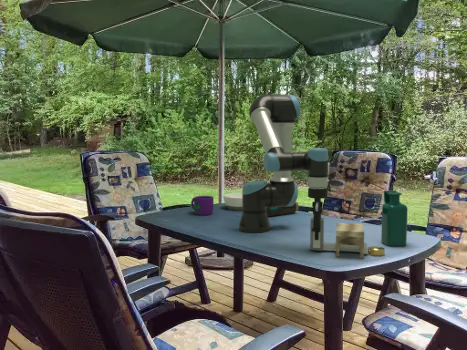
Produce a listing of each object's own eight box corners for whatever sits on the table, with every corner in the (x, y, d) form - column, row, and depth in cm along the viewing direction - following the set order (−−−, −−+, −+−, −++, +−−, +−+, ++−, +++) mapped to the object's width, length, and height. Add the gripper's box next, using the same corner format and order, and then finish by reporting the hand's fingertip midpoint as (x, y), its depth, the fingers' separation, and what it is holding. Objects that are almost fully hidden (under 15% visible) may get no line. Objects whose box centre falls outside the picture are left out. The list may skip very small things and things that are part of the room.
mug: (217, 214, 252) (217, 197, 251) (202, 216, 244) (202, 199, 243) (199, 210, 264) (198, 194, 264) (183, 212, 257) (183, 196, 256)
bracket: (309, 250, 170) (310, 220, 169) (311, 246, 177) (311, 217, 175) (367, 254, 165) (368, 222, 164) (366, 249, 172) (367, 219, 170)
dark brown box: (300, 219, 250) (257, 218, 235) (293, 220, 256) (250, 219, 240) (300, 200, 252) (257, 198, 237) (292, 201, 258) (250, 199, 242)
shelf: (335, 256, 164) (336, 230, 163) (336, 246, 178) (336, 222, 177) (363, 258, 161) (364, 232, 160) (361, 248, 176) (362, 223, 175)
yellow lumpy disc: (376, 257, 163) (376, 251, 163) (364, 253, 168) (364, 247, 168) (387, 255, 166) (388, 249, 166) (376, 251, 171) (376, 245, 171)
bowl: (247, 213, 255) (247, 199, 254) (216, 209, 268) (216, 196, 267) (266, 207, 274) (266, 194, 273) (236, 204, 286) (236, 191, 285)
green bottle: (408, 246, 178) (409, 193, 176) (388, 246, 177) (389, 193, 175) (397, 240, 188) (398, 190, 186) (378, 241, 187) (379, 190, 185)
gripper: (326, 190, 161) (325, 252, 163) (328, 185, 178) (327, 240, 180) (306, 190, 162) (305, 251, 165) (309, 184, 180) (308, 239, 182)
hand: (316, 245), depth 173 cm, fingers closed on bracket, 5 cm apart
